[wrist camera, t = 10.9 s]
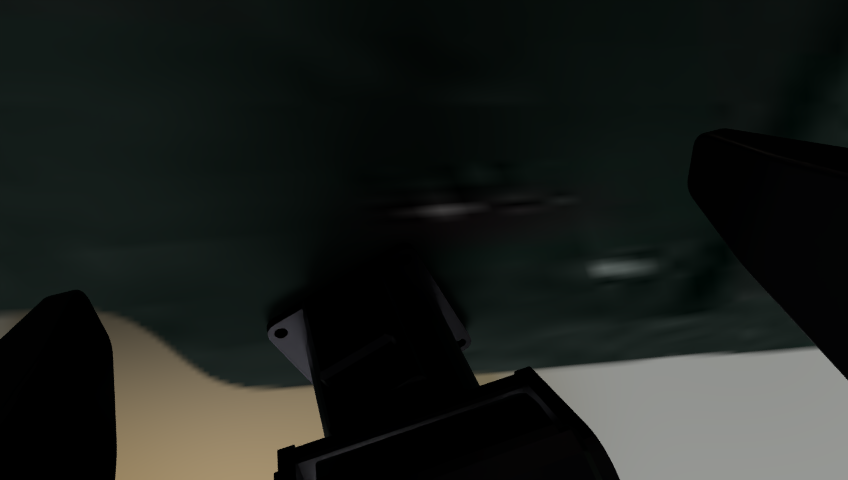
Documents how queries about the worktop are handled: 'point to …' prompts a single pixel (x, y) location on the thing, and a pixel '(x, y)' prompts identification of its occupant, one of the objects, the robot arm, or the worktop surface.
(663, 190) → the worktop surface
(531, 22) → the worktop surface
